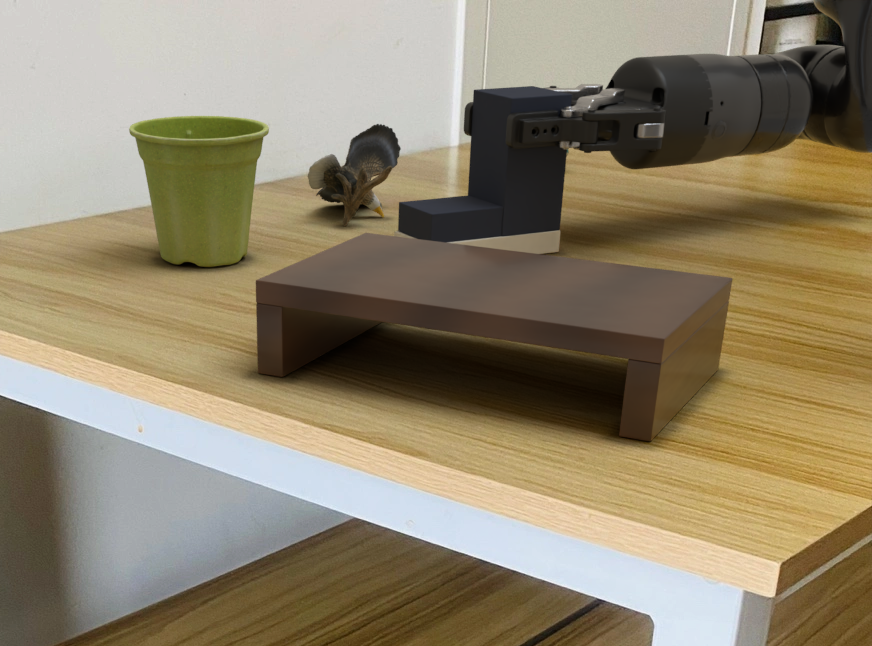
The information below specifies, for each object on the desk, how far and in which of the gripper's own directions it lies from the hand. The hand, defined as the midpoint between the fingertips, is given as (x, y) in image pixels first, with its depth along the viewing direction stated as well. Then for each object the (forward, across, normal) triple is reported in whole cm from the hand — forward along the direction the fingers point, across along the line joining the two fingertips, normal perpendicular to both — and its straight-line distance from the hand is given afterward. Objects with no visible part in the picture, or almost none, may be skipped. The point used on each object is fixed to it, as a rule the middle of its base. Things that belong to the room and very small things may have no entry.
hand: (488, 125), depth 95 cm
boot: (0, 0, +8) cm, 9 cm away
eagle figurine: (+2, -15, +9) cm, 17 cm away
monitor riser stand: (+15, +24, +8) cm, 30 cm away
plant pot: (+19, -7, +9) cm, 22 cm away
